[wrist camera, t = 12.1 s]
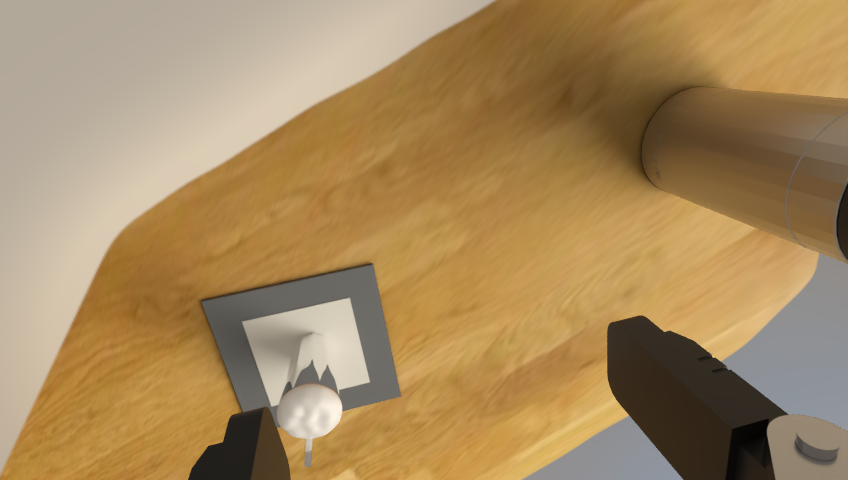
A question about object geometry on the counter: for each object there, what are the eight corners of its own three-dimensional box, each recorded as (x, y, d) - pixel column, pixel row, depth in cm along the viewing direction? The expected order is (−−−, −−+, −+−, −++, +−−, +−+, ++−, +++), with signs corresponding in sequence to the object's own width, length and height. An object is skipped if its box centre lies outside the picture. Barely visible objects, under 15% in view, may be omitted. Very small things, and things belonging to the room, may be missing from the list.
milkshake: (285, 378, 42) (273, 468, 33) (286, 325, 40) (274, 405, 31) (337, 377, 43) (340, 465, 34) (341, 326, 41) (345, 403, 32)
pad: (372, 263, 40) (373, 265, 40) (400, 394, 45) (401, 396, 45) (202, 300, 38) (201, 302, 38) (251, 431, 44) (251, 434, 43)
